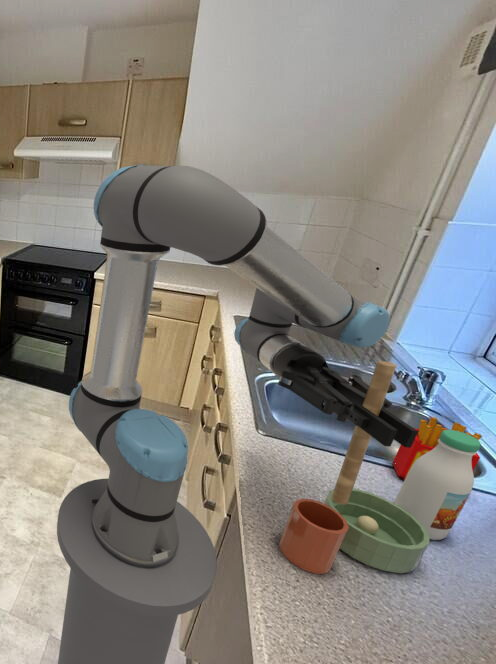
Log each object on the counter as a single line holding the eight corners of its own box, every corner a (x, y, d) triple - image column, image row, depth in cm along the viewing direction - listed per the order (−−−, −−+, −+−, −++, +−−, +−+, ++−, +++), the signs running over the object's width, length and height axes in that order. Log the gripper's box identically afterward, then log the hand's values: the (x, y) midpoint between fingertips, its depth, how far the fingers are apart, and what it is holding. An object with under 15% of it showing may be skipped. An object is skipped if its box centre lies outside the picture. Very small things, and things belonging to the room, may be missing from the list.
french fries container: (459, 499, 84) (490, 442, 80) (399, 481, 89) (425, 426, 84) (447, 479, 90) (475, 425, 85) (391, 463, 95) (415, 410, 90)
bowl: (325, 552, 72) (336, 527, 70) (311, 502, 83) (321, 478, 81) (429, 589, 66) (444, 562, 64) (399, 529, 77) (412, 504, 75)
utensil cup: (281, 561, 70) (297, 521, 67) (277, 531, 76) (291, 492, 73) (334, 581, 67) (353, 540, 64) (325, 548, 73) (342, 508, 70)
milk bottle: (404, 535, 76) (449, 445, 69) (380, 504, 83) (419, 420, 76) (457, 546, 74) (509, 455, 67) (428, 514, 81) (473, 428, 74)
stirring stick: (333, 502, 66) (380, 364, 59) (330, 494, 68) (375, 359, 60) (349, 506, 65) (398, 367, 58) (345, 498, 67) (393, 362, 59)
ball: (353, 531, 76) (354, 521, 75) (358, 519, 78) (359, 509, 76) (375, 540, 74) (376, 530, 73) (380, 528, 75) (381, 517, 74)
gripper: (327, 381, 79) (447, 464, 57) (247, 377, 80) (335, 457, 58) (340, 345, 77) (471, 418, 55) (256, 342, 77) (353, 412, 55)
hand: (401, 438), depth 56 cm, fingers closed on stirring stick, 2 cm apart
